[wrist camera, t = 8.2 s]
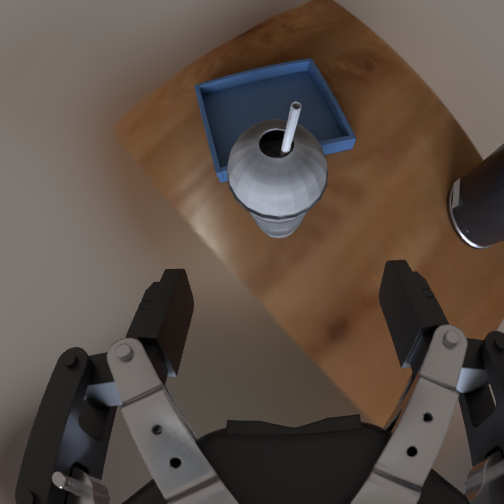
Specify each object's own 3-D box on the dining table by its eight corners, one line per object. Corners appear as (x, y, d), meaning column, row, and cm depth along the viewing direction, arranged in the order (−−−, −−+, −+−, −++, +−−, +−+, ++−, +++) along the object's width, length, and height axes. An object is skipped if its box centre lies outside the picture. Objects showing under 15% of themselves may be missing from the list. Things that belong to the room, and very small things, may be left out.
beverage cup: (270, 174, 33) (256, 34, 13) (325, 210, 32) (375, 87, 12) (231, 225, 32) (166, 116, 13) (287, 264, 31) (298, 193, 11)
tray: (310, 69, 35) (311, 57, 33) (352, 149, 33) (356, 138, 30) (198, 96, 36) (194, 85, 34) (220, 183, 33) (216, 173, 31)
